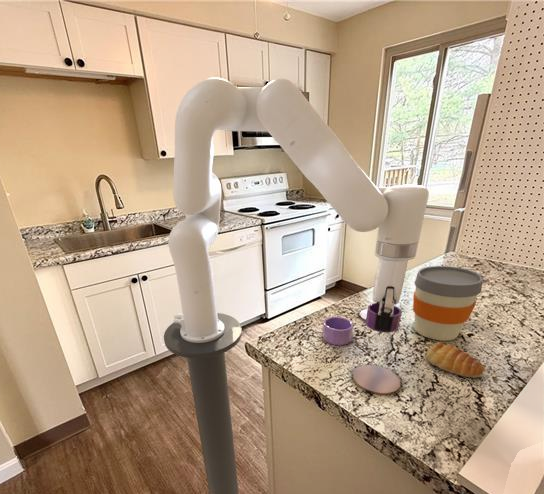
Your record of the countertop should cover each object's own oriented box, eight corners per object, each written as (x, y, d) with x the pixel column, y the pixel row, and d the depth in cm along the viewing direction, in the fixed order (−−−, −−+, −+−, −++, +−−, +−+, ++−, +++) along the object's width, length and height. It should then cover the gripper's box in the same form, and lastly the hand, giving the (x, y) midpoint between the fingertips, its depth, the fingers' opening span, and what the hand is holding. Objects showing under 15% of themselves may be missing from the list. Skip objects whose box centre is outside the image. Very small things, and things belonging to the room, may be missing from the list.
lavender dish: (321, 342, 78) (321, 328, 76) (324, 329, 83) (325, 315, 82) (350, 347, 75) (351, 332, 73) (352, 332, 80) (353, 318, 79)
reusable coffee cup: (398, 318, 84) (407, 266, 78) (450, 318, 82) (464, 264, 75) (418, 344, 73) (431, 286, 67) (479, 345, 71) (498, 284, 64)
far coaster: (358, 321, 85) (358, 320, 85) (360, 307, 92) (360, 306, 92) (395, 326, 81) (396, 325, 81) (394, 311, 88) (394, 310, 88)
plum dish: (364, 329, 71) (367, 313, 70) (365, 316, 77) (368, 301, 75) (398, 334, 69) (402, 318, 67) (397, 320, 74) (400, 304, 72)
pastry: (488, 370, 63) (493, 355, 61) (473, 385, 60) (478, 369, 58) (436, 350, 70) (440, 336, 69) (421, 362, 67) (424, 348, 66)
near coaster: (351, 388, 63) (351, 386, 63) (354, 363, 70) (354, 361, 69) (401, 399, 59) (401, 397, 59) (399, 371, 66) (399, 369, 66)
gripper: (375, 236, 73) (365, 303, 81) (374, 260, 59) (362, 338, 67) (413, 238, 70) (398, 307, 78) (421, 263, 56) (402, 344, 64)
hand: (382, 321), depth 72 cm, fingers closed on plum dish, 6 cm apart
